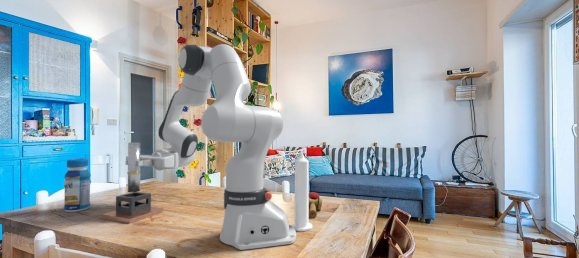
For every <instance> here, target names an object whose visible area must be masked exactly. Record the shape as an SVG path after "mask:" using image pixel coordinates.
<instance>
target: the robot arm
mask: <svg viewBox="0 0 579 258" xmlns="http://www.w3.org/2000/svg"><path fill="white" fill-rule="evenodd" d="M178 63H179V64H178V65H179V68H180V69H181V71H182V73H184V74H183V77H182V81H181V85H180V88H179V89H178V90H175V92H174V93H173V95H172V97H171V99H170V102H169V105H168V108H167V110H166V113H165V116H164V118H163V121H162V122H161V124H160V126H159V127H158V133H157V134H158V138H159V139H160V140H162V141H164V143H167V144H169V145H170V146H171V147H169V148H158V149H155V150H153V152H152V154H140V161H136V166H140V167H148V168H149V167H150V168H154V169H155V170H156V171H165V170H171V169H173V170H174V169H179V168H183V167H186V166H188V165H190V164H192V163H193V162H194V161H195V159H196V150H197V148H198V143H199V139H198V136H197V134H195V133H194V132H193V131H191V130H189V129H188V128H186V127H185V126H183V125H182V124H181V123H180V118H181V114H182V112H183V109H184V108H185V107H189V108H193V107H199V106H202V105H204V104H205V103H206V102H207V101H208V98H209V96H210V92H211V88H212V83H213V87H214V92H215V100H214V101H213V103H212V104H210V105H209V106H208V107H207V108H206V109H205V110H204V112H203V114H202V117H201V120H200V121H201V123H200V124H201V130H202V132H203V134H204V136H206V138H207V139H208V140H211V141H216V142H221V143H241V146H240V149H239V150H238V152H237V153H236V154H235V155H233V156H232V157H230V158H229V159H228V160H227V163H226V166H225V188H224V191H223V192H224V193H223V209H224V215H223V220H222V221H223V222H222V227H221V228H222V229H221V232H220V235H219V240H220V242H221V243H224V244H225V245H229V246H232V247H234V248H236V249H238V250H241V251H244V250H251V249H252V250H253V249H261V248H268V247H269V248H270V247H275V246H284V245H285V246H286V245H292V244H294V243H295V242H296V240H297V231H296V230H295V229H294V228H293V227H292V226H291V224H289V219H288V216H287V214H286V212H285V211H284V210H283V209H282V208H281V207H279V206H278V205H276V204H275V203H274V202H272V201H271V200H272V197H273V196H272V195H273V194H272V192H271V191H270V190H269V189H268V188H266V187H264V173H265V172H264V171H265V161H266V157H267V154H268V153H269V150H270V147H271V146H272V145H273V142H274V141H276V139H277V138H279V136H280V135H281V133H282V132H283V128H284V122H283V121H284V120H283V117H282V115H281V113H280V112H279V111H278V110H276V109H273V108H270V107H266V106H259V105H248V104H245V103H244V101H245V100H246V99H247V98H248V97H249V96H250V93H251V90H252V85H251V83H250V82H251V81H250V80H249V77H248V75H247V72H246V69H245V66H244V64H243V61H242V59H241V58H240V56H239V54H238V53H237V51H236V50H235V49H234V48H233V46H231V45H228V44H223V43H221V44H217V45H215V46H213V47H209V46H202V45H201V46H200V45H197V44H186V45H184V46H183V47H181V50H180V51H179V55H178ZM125 165H126V166H128V155H127V156H126V157H125Z"/></svg>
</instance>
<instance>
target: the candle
mask: <svg viewBox="0 0 579 258" xmlns="http://www.w3.org/2000/svg"><path fill="white" fill-rule="evenodd" d="M299 154H300V155H299V157H298V158H296V159H295V160H294V222H292V223H291V224H290V225H291V226H292V227H293V228H294V229H295V231H296V232H297V231H298V232H307V231H311V230H312V229H313V223H310V222H309V217H310V216H309V210H310V206H309V193H310V192H309V185H310V184H309V175H310V174H309V168H310V167H309V166H310V165H309V160H308V158H306V157H305V156H304V151H303V150H301V151H300V153H299Z"/></svg>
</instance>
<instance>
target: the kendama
mask: <svg viewBox="0 0 579 258" xmlns="http://www.w3.org/2000/svg"><path fill="white" fill-rule="evenodd" d="M322 205H323V198H322V197H320V195H319V194H318V193H317V192H314V191H312V192H309V216H308V217H309V218H312V219H314V218H316V217H317V215H318V213H317V211H321V210H322V207H323V206H322Z"/></svg>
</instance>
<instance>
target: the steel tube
mask: <svg viewBox="0 0 579 258" xmlns="http://www.w3.org/2000/svg"><path fill="white" fill-rule="evenodd" d="M141 143H142V142H127V151H128V152H127V156H128V165H127V192H128V193H133V192H141V173H142V172H141V171H142V170H141V166H136V161H140V155H141V145H142V144H141Z"/></svg>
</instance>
